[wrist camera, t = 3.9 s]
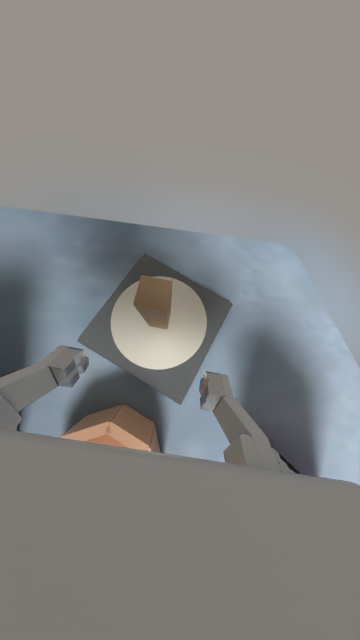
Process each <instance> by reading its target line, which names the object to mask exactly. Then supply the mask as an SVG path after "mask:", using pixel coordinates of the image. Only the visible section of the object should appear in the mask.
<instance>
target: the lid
mask: <svg viewBox="0 0 360 640" xmlns="http://www.w3.org/2000/svg"><path fill="white" fill-rule="evenodd" d="M206 328H207V316H206V311H205V308H204V305H203V303H202V301H201V299H200V298H199V296H198V295H197V294H196V292H195V291H194V290H193V289H192V288H191V287H189V286H188V285H186V284H185V283H183V282H181V281H179V280H177V279H174V278H170V277H164V276H156V277H149V276H145V275H141V277H140V281H137V282H135V283H134V284H132V285H131V286H129V287H128V288H127V289H126V290H125V291H124V292H123V293H122V294H121V295H120V297H119V298H118V300H117V301H116V303H115V305H114V308H113V311H112V315H111V332H112V336H113V339H114V342H115V344H116V346H117V348H118V349H119V350H120V352H121V353H122V354H123V355H124V356H125V357H126V358H127V359H128V360H130V361H131V362H133V363H134V364H136V365H139V366H141V367H144V368H148V369H155V370H160V369H168V368H172V367H175V366H178V365H180V364H182V363H184V362H185V361H187V360H188V359H189V358H191V357H192V356H193V355H194V354H195V353H196V351H197V350H198V349H199V347H200V346H201V344H202V342H203V339H204V337H205V333H206Z"/></svg>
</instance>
